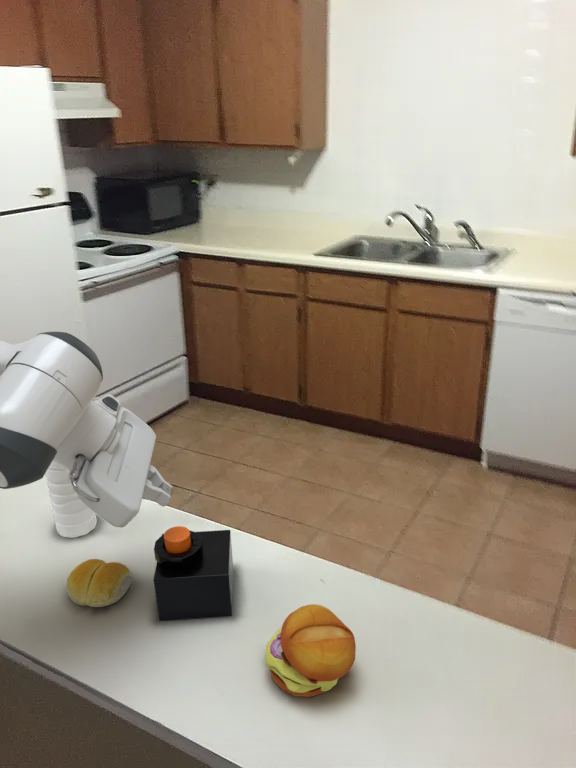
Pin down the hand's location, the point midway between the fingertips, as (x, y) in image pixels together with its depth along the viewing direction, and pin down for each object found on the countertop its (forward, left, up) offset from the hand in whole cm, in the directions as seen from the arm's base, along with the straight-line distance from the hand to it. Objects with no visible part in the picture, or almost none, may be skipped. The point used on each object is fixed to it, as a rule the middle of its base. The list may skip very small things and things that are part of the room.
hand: (169, 497), depth 90 cm
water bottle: (-16, +20, -16) cm, 30 cm away
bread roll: (-12, +3, -16) cm, 20 cm away
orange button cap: (0, -1, -8) cm, 8 cm away
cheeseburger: (+15, -18, -16) cm, 29 cm away
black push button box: (+2, -1, -16) cm, 16 cm away
